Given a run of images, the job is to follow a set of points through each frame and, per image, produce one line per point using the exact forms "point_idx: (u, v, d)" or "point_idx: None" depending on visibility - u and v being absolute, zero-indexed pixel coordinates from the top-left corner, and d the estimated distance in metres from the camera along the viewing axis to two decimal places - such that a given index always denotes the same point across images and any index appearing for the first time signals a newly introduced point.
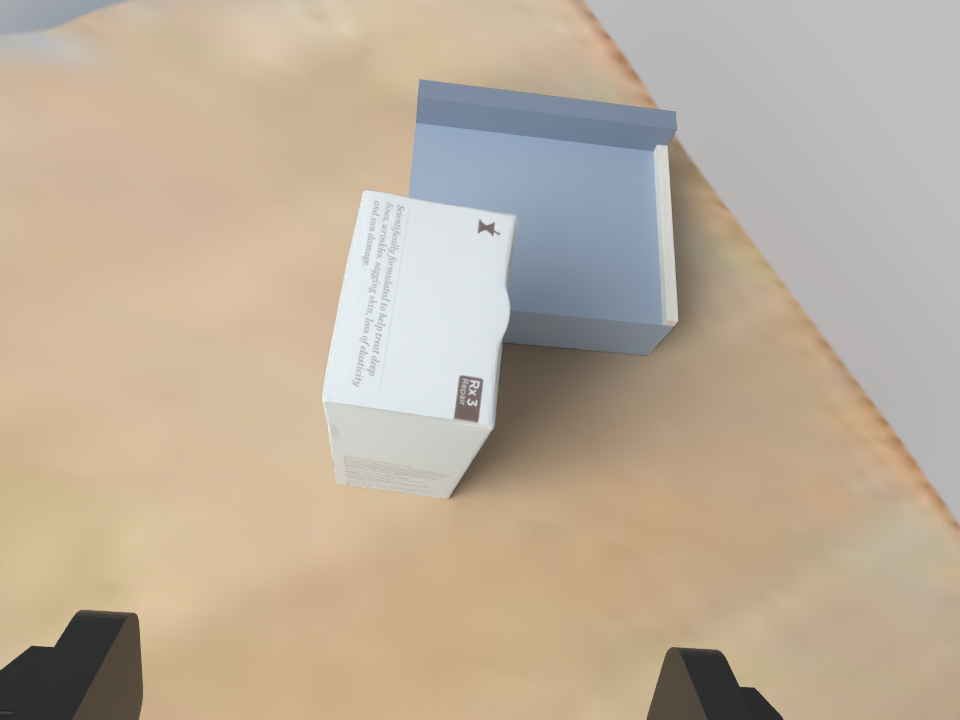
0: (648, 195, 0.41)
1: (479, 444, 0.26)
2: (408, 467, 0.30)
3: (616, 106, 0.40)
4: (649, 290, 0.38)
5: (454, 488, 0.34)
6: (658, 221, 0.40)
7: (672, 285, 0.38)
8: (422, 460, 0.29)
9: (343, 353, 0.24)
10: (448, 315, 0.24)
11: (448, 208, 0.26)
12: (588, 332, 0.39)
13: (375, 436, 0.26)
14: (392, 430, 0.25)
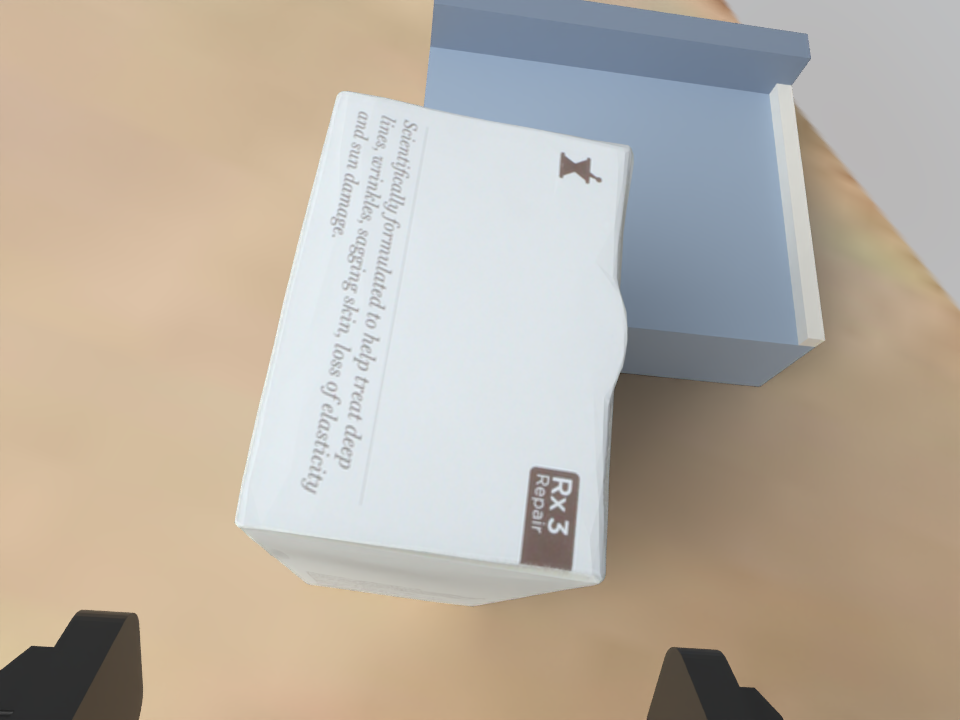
0: (766, 155, 0.28)
1: (558, 590, 0.13)
2: (416, 589, 0.18)
3: (722, 24, 0.27)
4: (776, 293, 0.26)
5: None
6: (783, 192, 0.27)
7: (812, 285, 0.25)
8: (442, 588, 0.16)
9: (284, 418, 0.11)
10: (505, 340, 0.12)
11: (501, 130, 0.13)
12: (681, 354, 0.26)
13: (356, 567, 0.14)
14: (388, 566, 0.13)
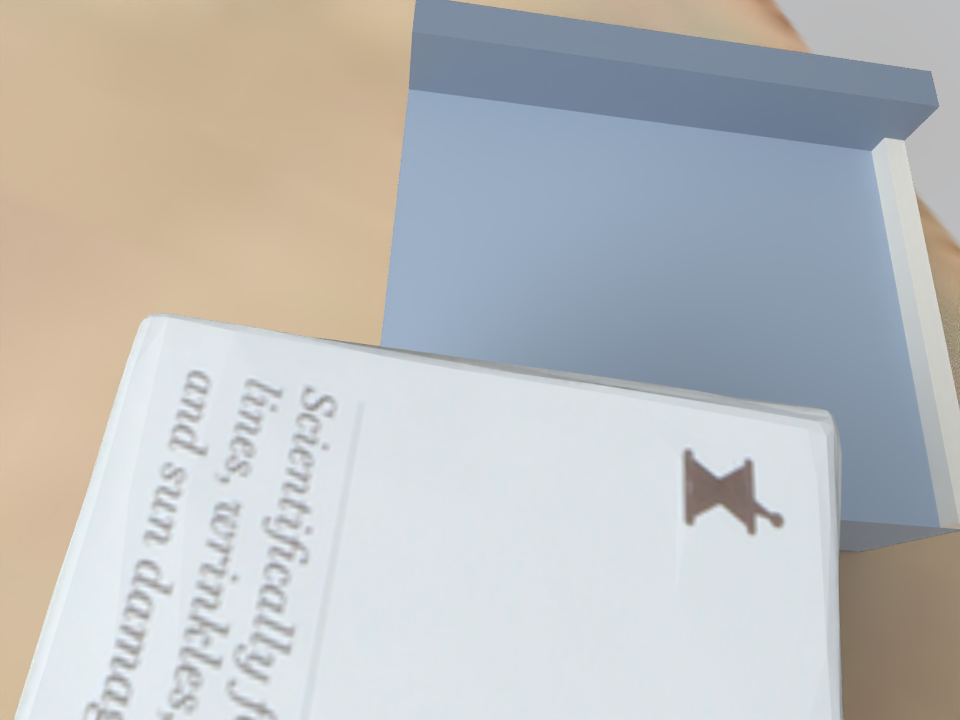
0: (873, 239, 0.20)
1: None
2: None
3: (815, 58, 0.20)
4: (903, 446, 0.18)
5: None
6: (904, 294, 0.19)
7: (958, 439, 0.18)
8: None
9: None
10: None
11: (542, 397, 0.06)
12: None
13: None
14: None
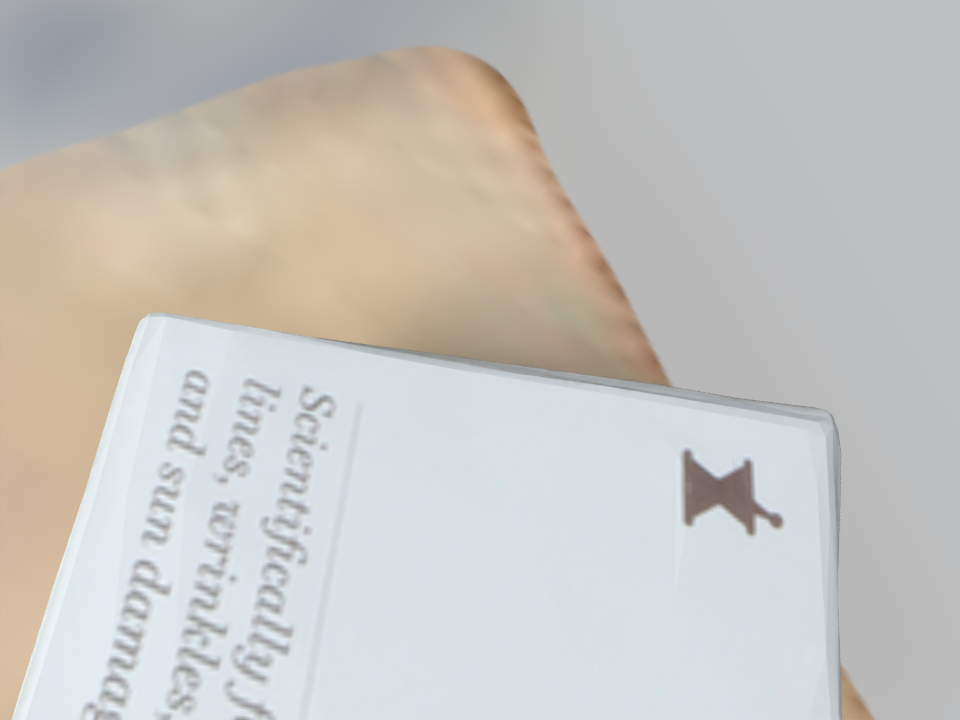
0: None
1: None
2: None
3: None
4: None
5: None
6: None
7: None
8: None
9: None
10: None
11: (541, 396, 0.06)
12: None
13: None
14: None
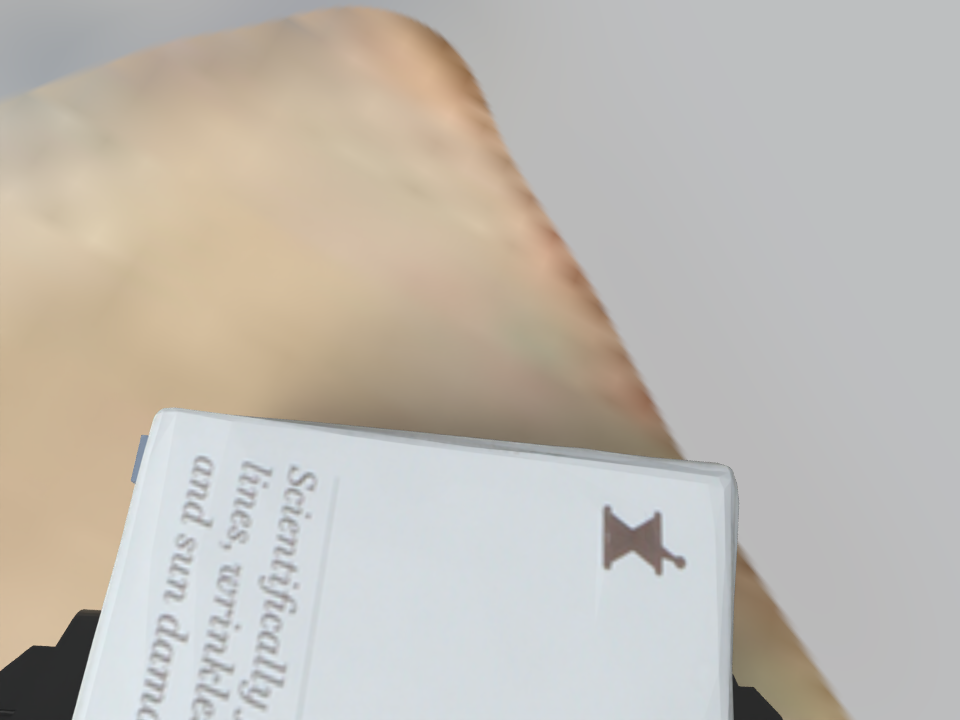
0: None
1: None
2: None
3: None
4: None
5: None
6: None
7: None
8: None
9: None
10: None
11: (486, 465, 0.07)
12: None
13: None
14: None
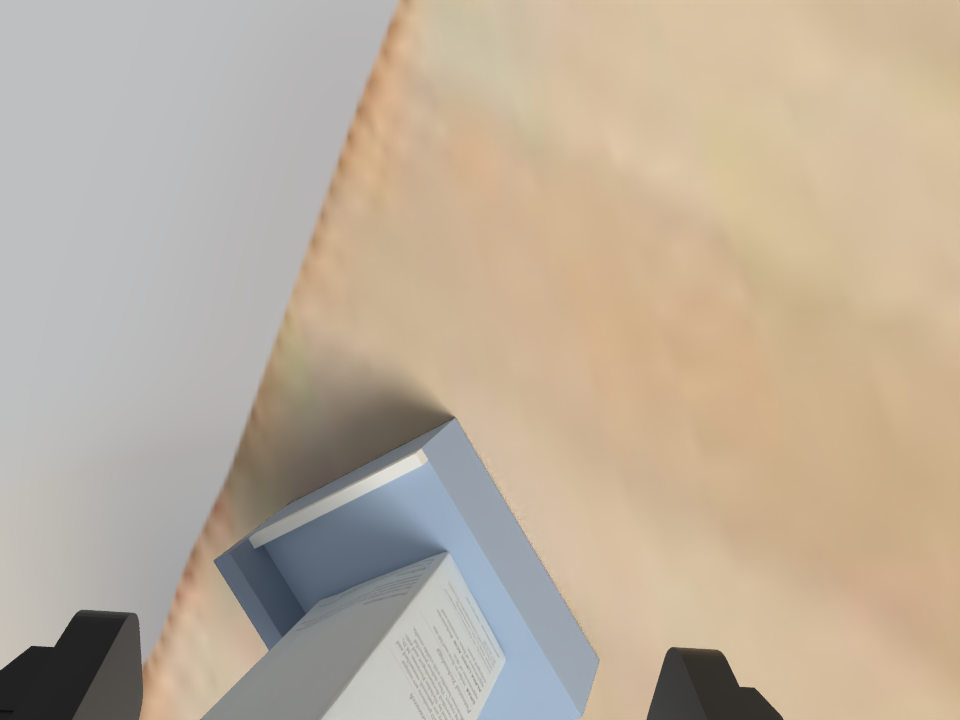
0: (308, 529, 0.35)
1: None
2: (413, 693, 0.27)
3: (252, 618, 0.35)
4: (402, 487, 0.33)
5: (421, 587, 0.30)
6: (327, 511, 0.34)
7: (383, 474, 0.32)
8: (387, 713, 0.25)
9: None
10: None
11: None
12: (481, 509, 0.34)
13: None
14: None
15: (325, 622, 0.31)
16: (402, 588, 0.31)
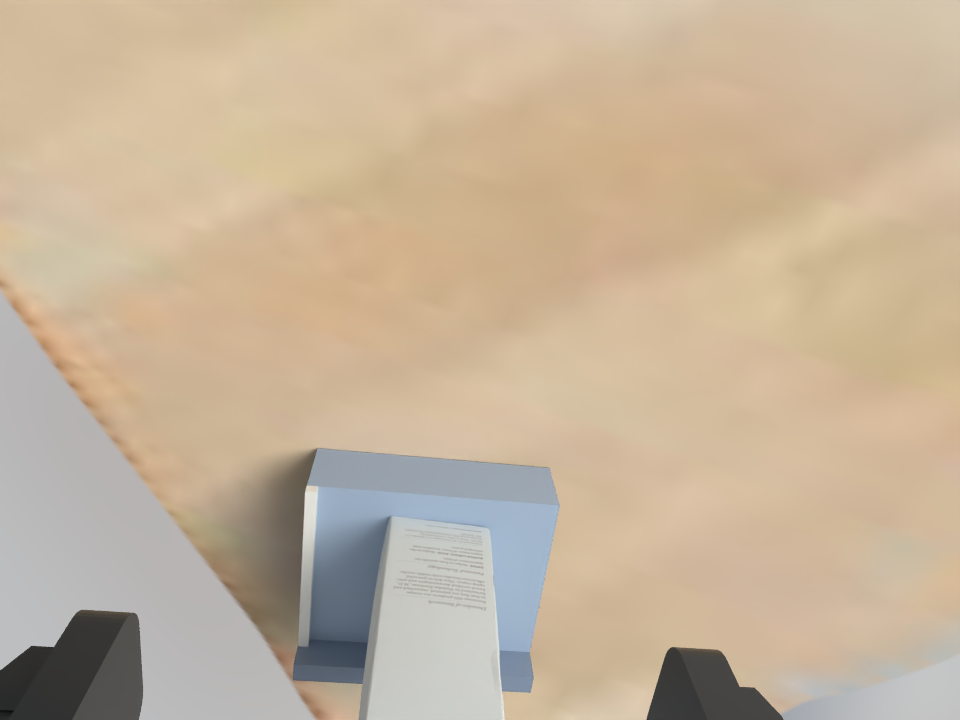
0: (319, 600, 0.43)
1: (373, 682, 0.30)
2: (430, 599, 0.35)
3: (351, 681, 0.43)
4: (327, 516, 0.41)
5: (387, 549, 0.38)
6: (313, 578, 0.42)
7: (307, 522, 0.40)
8: (419, 623, 0.33)
9: None
10: None
11: None
12: (383, 474, 0.42)
13: (461, 672, 0.31)
14: (447, 694, 0.30)
15: None
16: (381, 562, 0.39)
